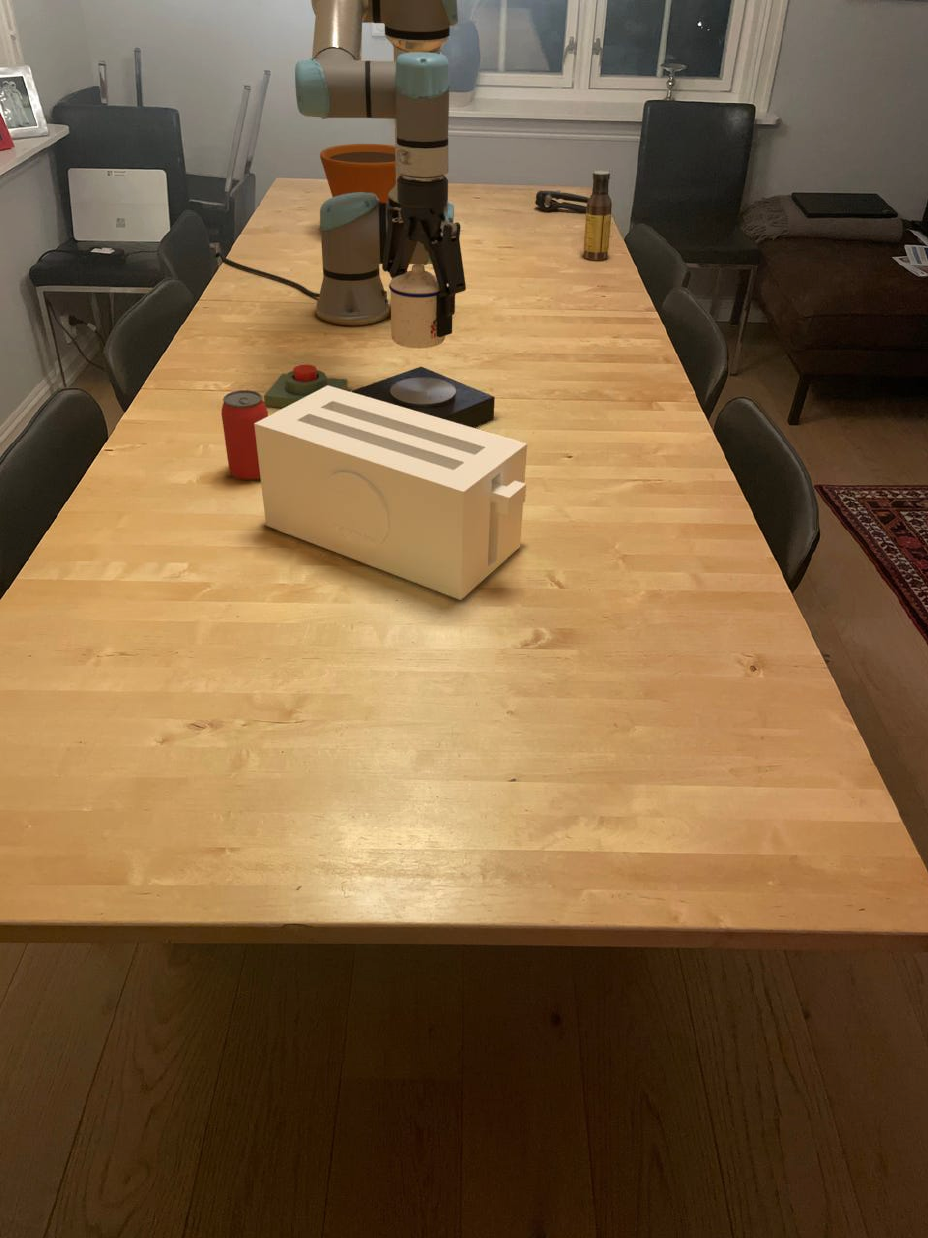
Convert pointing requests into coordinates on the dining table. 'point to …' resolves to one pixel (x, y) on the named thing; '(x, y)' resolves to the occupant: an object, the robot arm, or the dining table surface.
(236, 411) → the beer can
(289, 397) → the box
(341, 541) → the toaster
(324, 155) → the flower pot
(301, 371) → the button
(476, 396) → the cup warmer
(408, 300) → the teacup with lid
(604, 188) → the sauce bottle
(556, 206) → the can opener
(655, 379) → the dining table surface
